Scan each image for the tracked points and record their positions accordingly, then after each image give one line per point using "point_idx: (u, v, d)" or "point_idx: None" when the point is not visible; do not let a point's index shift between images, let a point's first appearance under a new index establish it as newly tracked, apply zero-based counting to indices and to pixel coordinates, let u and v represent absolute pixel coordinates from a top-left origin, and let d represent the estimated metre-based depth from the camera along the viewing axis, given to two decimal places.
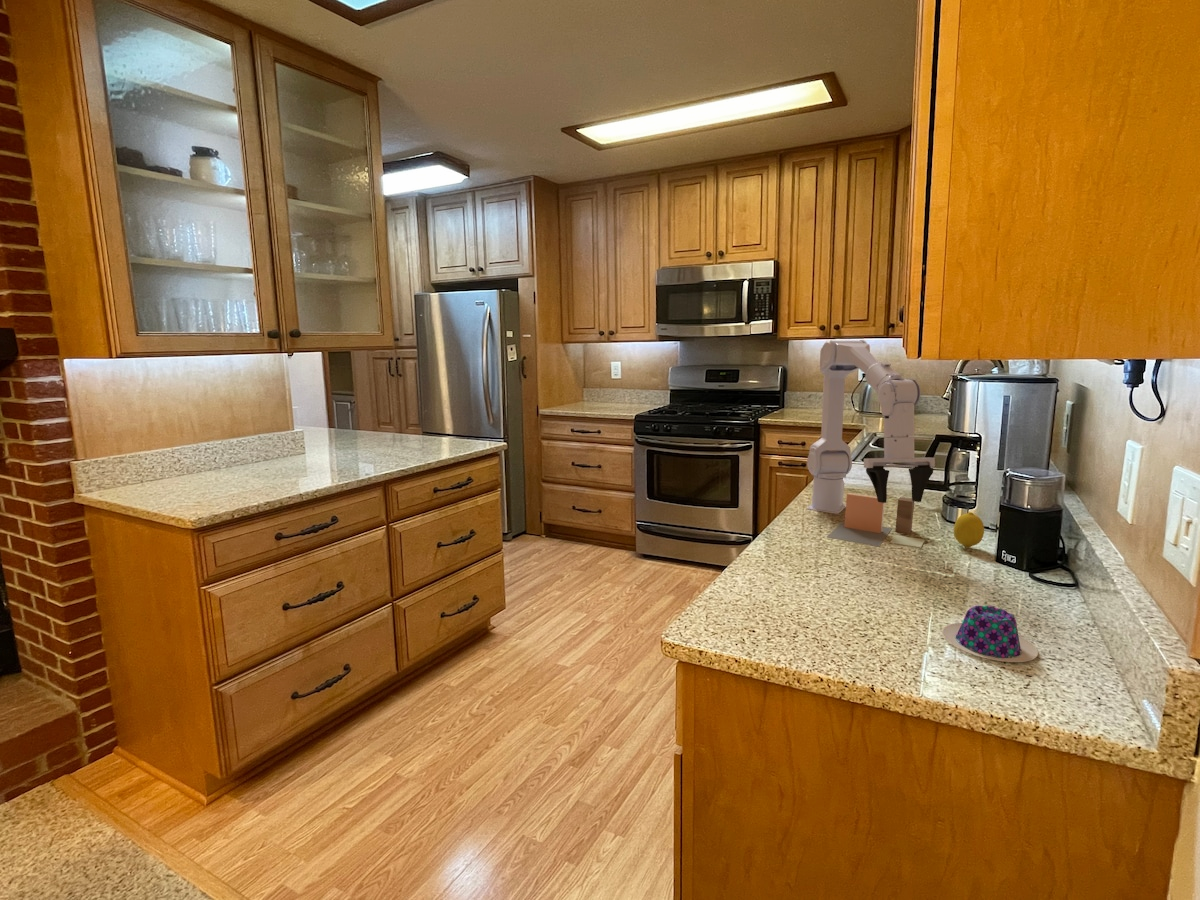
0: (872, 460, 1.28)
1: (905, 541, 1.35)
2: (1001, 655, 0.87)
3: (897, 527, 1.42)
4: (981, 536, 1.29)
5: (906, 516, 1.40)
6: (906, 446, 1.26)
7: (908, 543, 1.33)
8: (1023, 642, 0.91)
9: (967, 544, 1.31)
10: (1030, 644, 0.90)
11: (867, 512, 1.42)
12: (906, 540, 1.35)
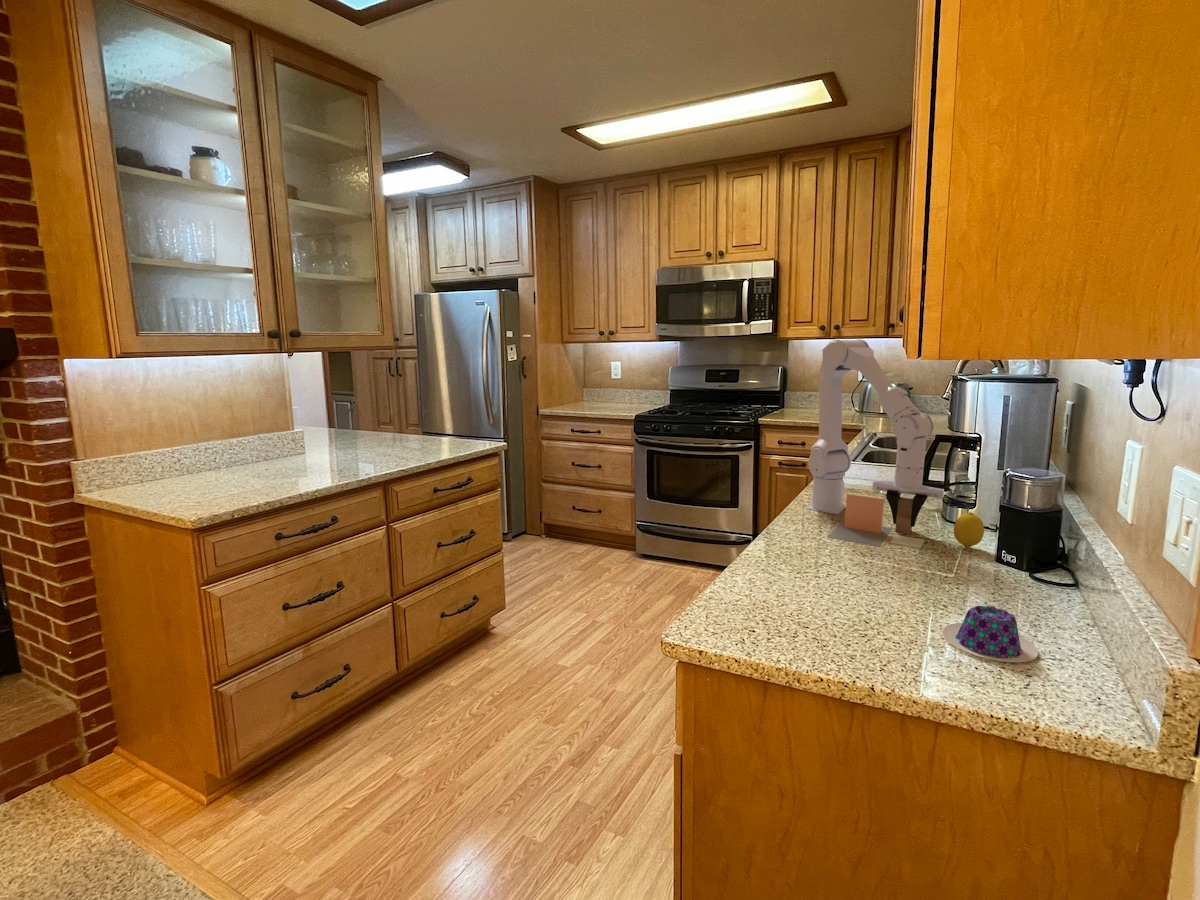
0: (876, 484, 1.44)
1: (905, 541, 1.35)
2: (1001, 655, 0.87)
3: (897, 527, 1.42)
4: (981, 536, 1.29)
5: (906, 516, 1.40)
6: (906, 477, 1.38)
7: (908, 543, 1.33)
8: (1023, 642, 0.91)
9: (967, 544, 1.31)
10: (1031, 644, 0.90)
11: (867, 512, 1.42)
12: (906, 540, 1.35)
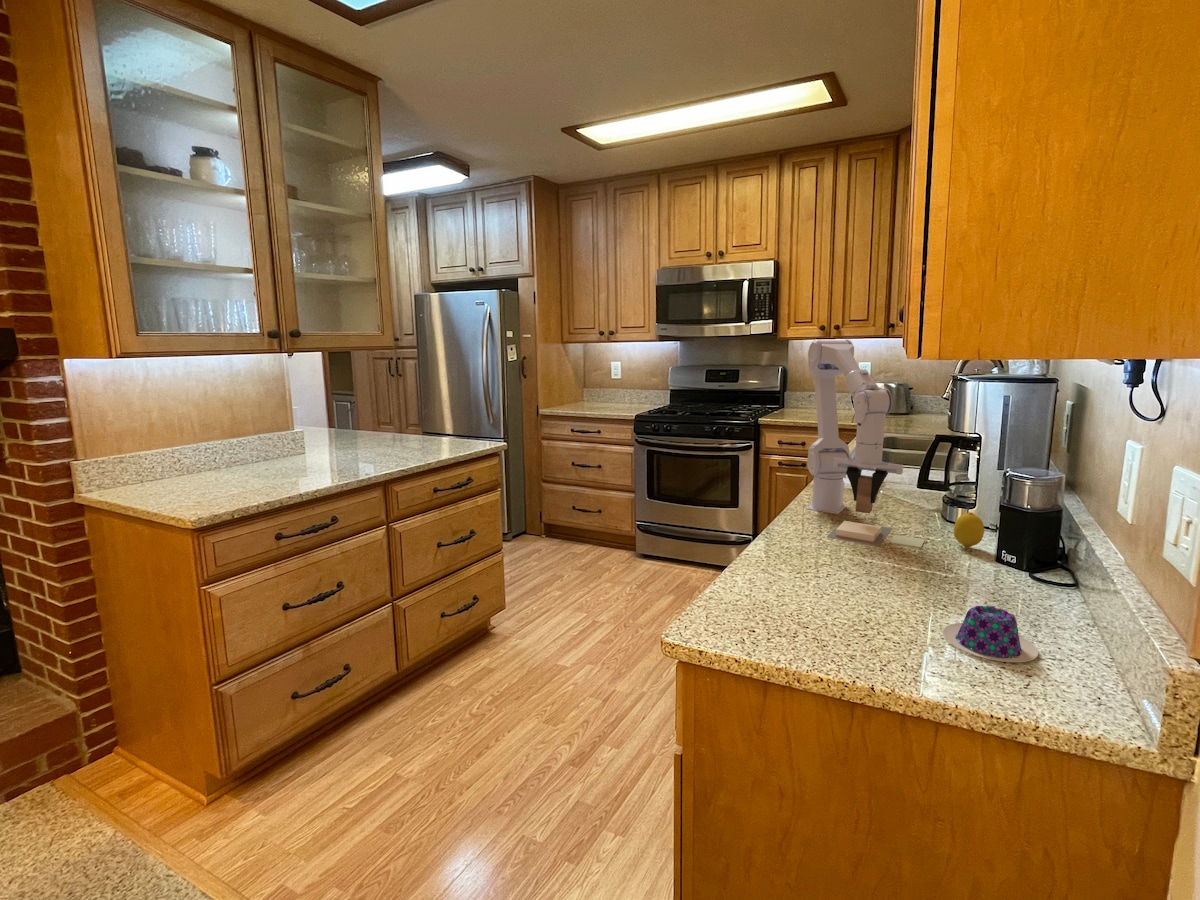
0: (837, 460, 1.43)
1: (905, 541, 1.35)
2: (1001, 655, 0.87)
3: (857, 505, 1.41)
4: (981, 536, 1.29)
5: (866, 494, 1.40)
6: (865, 453, 1.37)
7: (908, 543, 1.33)
8: (1023, 642, 0.91)
9: (967, 544, 1.31)
10: (1030, 644, 0.90)
11: None
12: (906, 540, 1.35)
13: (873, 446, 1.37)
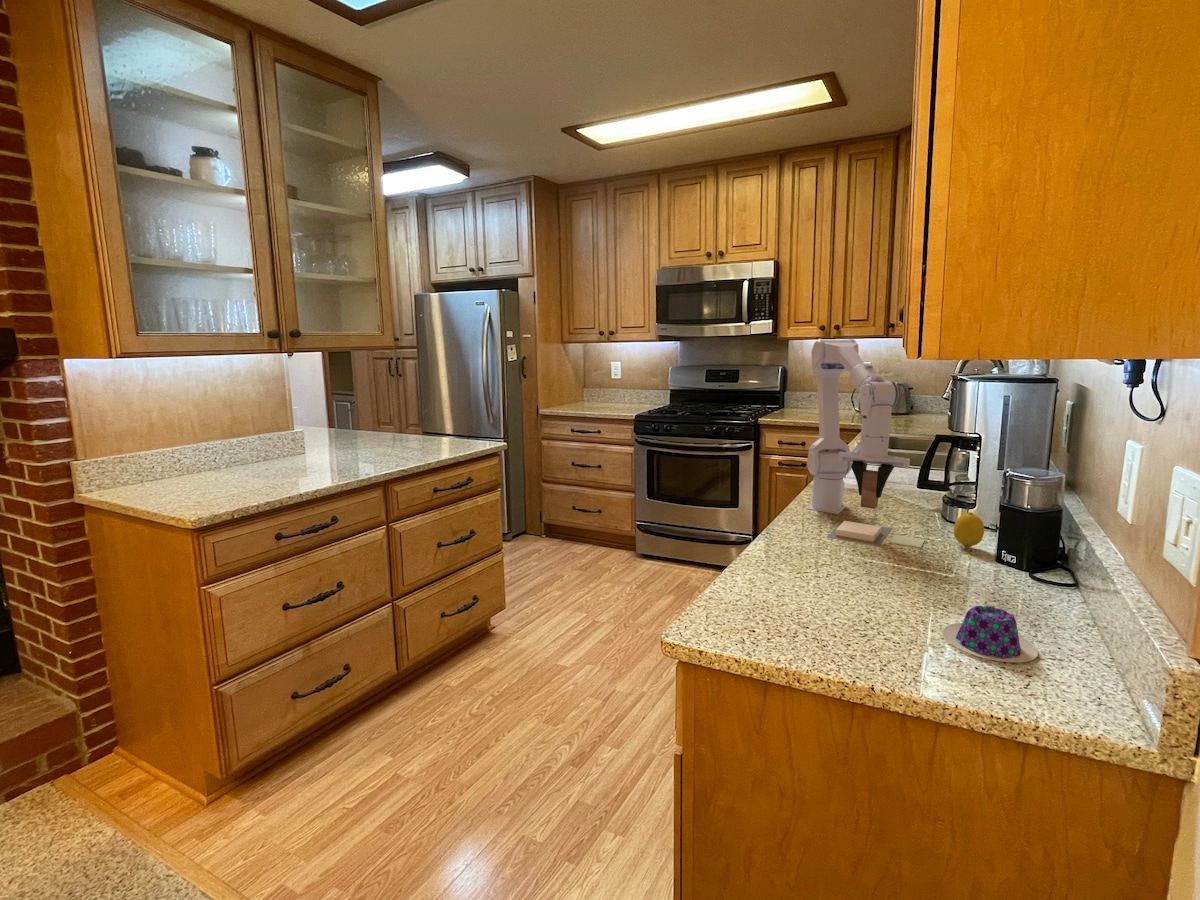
0: (842, 454, 1.40)
1: (905, 541, 1.35)
2: (1002, 655, 0.87)
3: (862, 500, 1.38)
4: (981, 536, 1.29)
5: (872, 489, 1.37)
6: (871, 446, 1.34)
7: (908, 543, 1.33)
8: (1022, 642, 0.91)
9: (967, 544, 1.31)
10: (1029, 643, 0.90)
11: None
12: (906, 540, 1.35)
13: (879, 439, 1.33)
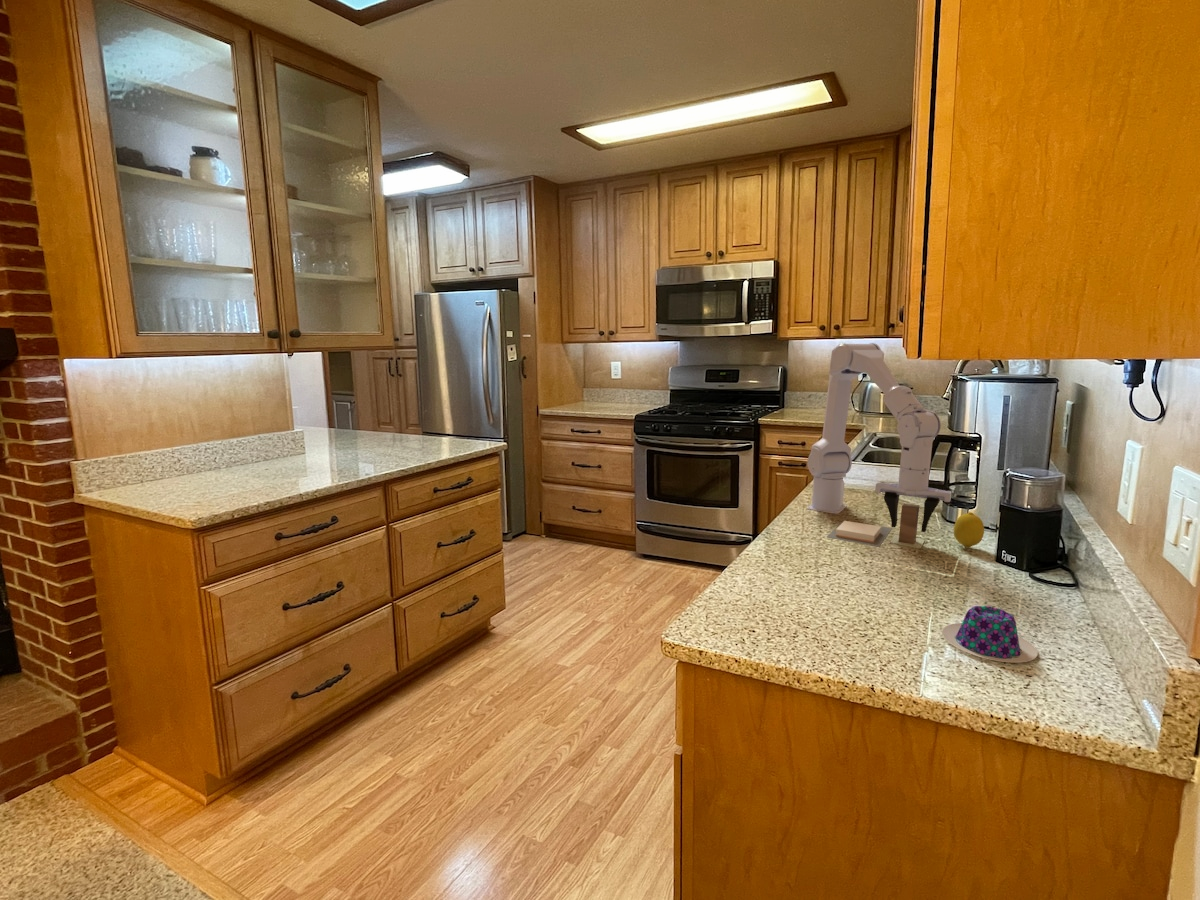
0: (879, 486, 1.36)
1: None
2: (1003, 656, 0.87)
3: (901, 535, 1.34)
4: (981, 536, 1.29)
5: (911, 524, 1.32)
6: (911, 479, 1.30)
7: None
8: (1021, 641, 0.91)
9: (967, 544, 1.31)
10: (1028, 643, 0.90)
11: None
12: None
13: (919, 472, 1.29)
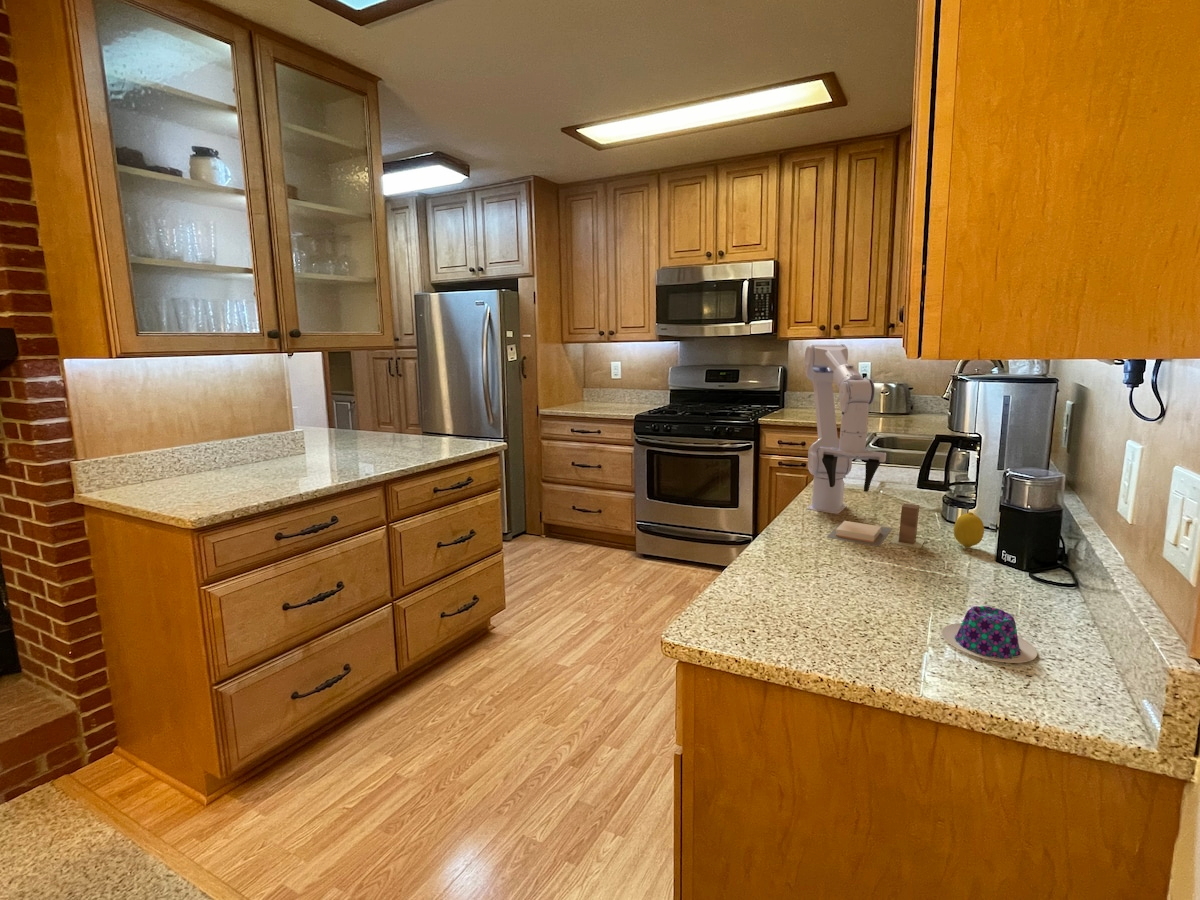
0: (822, 449, 1.46)
1: None
2: (1004, 656, 0.87)
3: (901, 535, 1.34)
4: (981, 536, 1.29)
5: (911, 524, 1.32)
6: (849, 441, 1.41)
7: None
8: (1018, 640, 0.91)
9: (967, 544, 1.31)
10: (1026, 642, 0.91)
11: None
12: None
13: (857, 434, 1.40)
